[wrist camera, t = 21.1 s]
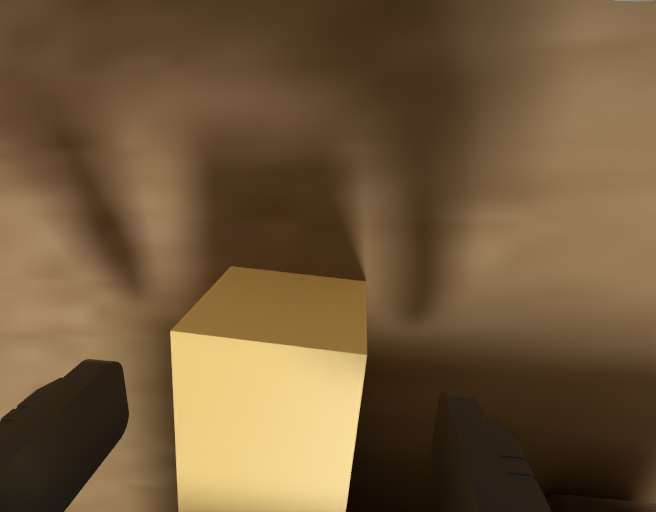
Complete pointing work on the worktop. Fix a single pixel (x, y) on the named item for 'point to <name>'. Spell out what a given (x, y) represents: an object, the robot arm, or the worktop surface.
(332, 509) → the pale yellow block
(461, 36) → the worktop surface
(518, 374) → the worktop surface
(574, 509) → the dolly
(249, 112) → the worktop surface
